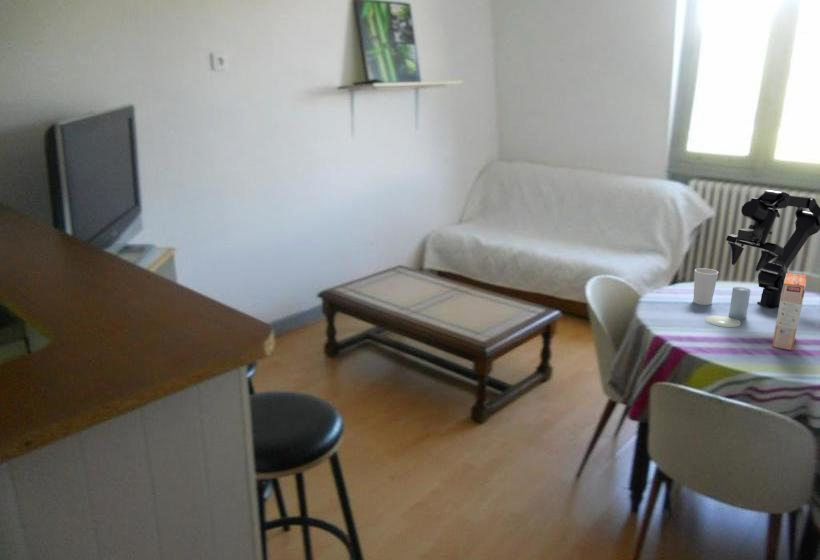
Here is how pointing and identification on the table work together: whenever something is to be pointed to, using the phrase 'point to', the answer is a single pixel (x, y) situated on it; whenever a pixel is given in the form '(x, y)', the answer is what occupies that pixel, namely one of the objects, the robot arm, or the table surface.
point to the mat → (722, 321)
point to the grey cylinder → (739, 302)
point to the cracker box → (789, 311)
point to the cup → (704, 285)
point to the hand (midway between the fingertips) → (744, 267)
